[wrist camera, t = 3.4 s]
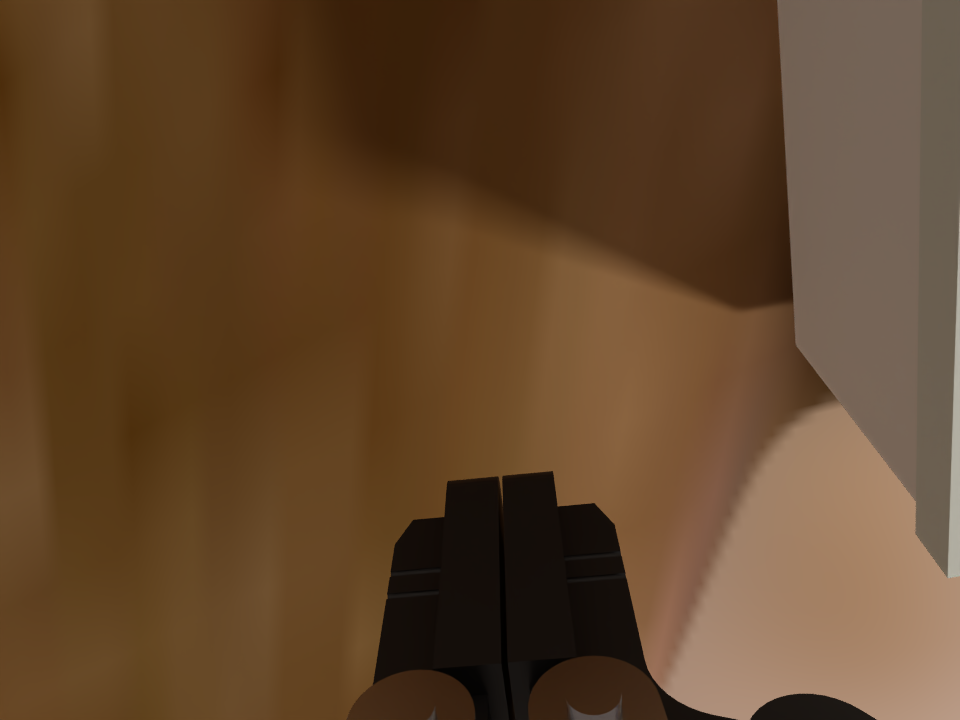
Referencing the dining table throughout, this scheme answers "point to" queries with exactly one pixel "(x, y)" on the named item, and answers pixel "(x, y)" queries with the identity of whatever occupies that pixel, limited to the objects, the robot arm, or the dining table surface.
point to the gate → (881, 231)
